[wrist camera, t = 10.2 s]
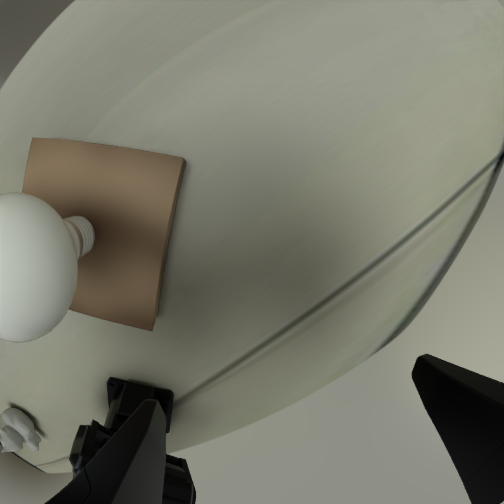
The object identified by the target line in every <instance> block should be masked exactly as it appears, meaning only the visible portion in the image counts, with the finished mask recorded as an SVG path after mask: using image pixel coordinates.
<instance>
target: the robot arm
mask: <svg viewBox="0 0 504 504" xmlns="http://www.w3.org/2000/svg"><path fill="white" fill-rule="evenodd" d="M412 379H413V382H414V384H415V386H416V388H417V391H418V393H419V395H420V398H421V400H422V402H423V405H424V407H425V409H426V410H427V413H428V415H429V417H430V418H431V420H432V422H433V424H434V426H435V427H436V429H437V431H438V433H439V435H440V437H441V439H442V441H443V443H444V445H445V447H446V449H447V451H448V453H449V455H450V457H451V459H452V461H453V463H454V465H455V467H456V469H457V471H458V473H459V476H460V478H461V480H462V482H463V483H464V484H463V485H464V487H465V489H466V491H467V494H468V496H469V499H470V501H471V503H472V504H500V503H502V502H503V501H504V383H502V382H499V381H497V380H494V379H491V378H489V377H486V376H483V375H480V374H478V373H475V372H473V371H470V370H468V369H465V368H462V367H460V366H457V365H454V364H452V363H449V362H447V361H444V360H442V359H439V358H437V357H434V356H432V355H429V354H424V355H421V356H419V357H418V358H417V360H416V362H415V365H414V368H413V371H412ZM111 382H112V383H113V384H112V383H111ZM107 392H108V403H109V411H108V414H107V418H106V421H105V424H104V426H102V425H100V424H99V422H97V421H95V420H92V422H91V424H90V425H80V426H79V429H78V431H77V434H76V437H75V439H74V442H73V446H72V449H71V453H70V457H69V460H70V462H71V464H72V466H73V470H72V471H73V480H72V481H71V482H70V483H69V484H68V485H67V486H65V487H64V488H63V489H62V490H61V491H60V492H59V493H57V494H56V495H55V496H54V497H53V498H51V499H50V500H49V501H47V502H46V503H45V504H195V501H196V491H195V487H194V484H193V481H192V478H191V475H190V472H189V468H188V465H187V462H186V460H185V459H182V458H177V457H174V456H171V455H168V454H166V433H169V431H170V422H171V413H172V404H173V393H172V392H171V391H168V390H163V389H157V388H152V387H148V386H143V385H138V384H134V383H130V382H126V381H122V380H118V379H114V378H109V379H108V381H107ZM167 395H169V396H167Z"/></svg>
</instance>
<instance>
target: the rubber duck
mask: <svg viewBox="0 0 504 504" xmlns="http://www.w3.org/2000/svg"><path fill="white" fill-rule="evenodd" d="M2 419H3V423H4V426H5V427H3V428H2V429H0V434H1V443H2V445H3V447H4V448H3V450H2V452H5V451H6V452H8V451H12V452H16V451H20V450H21V449H22V448H23V442H25V443H26V445H27V446H28V447H29V448H30V449H32V450H34V451H38V450H39V443H40V441H41V438H40V436H39V435H38V434H36V433H35V429H34V425H33V422H32V421H31V419H30V418H29V417H28V416H27V415H26V414H25V413H23V412H22V411H21V410H19V409H15V408H8V409H6V410H4V411H3V413H2Z"/></svg>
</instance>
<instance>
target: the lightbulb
mask: <svg viewBox="0 0 504 504" xmlns="http://www.w3.org/2000/svg"><path fill="white" fill-rule="evenodd" d="M94 242H95V233H94V229H93V227H92V225H91V223H90V222H89V221H88V220H87V219H86V218H84V217H82V216H72V217H68V218H65V219H63V218H62V217H61V216H60V215H59V214H58V213H57V211H56V210H55V209H54V208H52V207H51V206H50V205H49V204H48V203H46V202H45V201H43V200H41V199H40V198H38V197H35V196H33V195H30V194H26V193H18V192H12V193H5V194H1V195H0V339H1V340H4V341H8V342H14V343H23V342H29V341H33V340H36V339H38V338H41V337H43V336H44V335H46V334H48V333H49V332H50V331H52V330H53V329H54V328H55V327H56V326H57V325H58V324H59V323H60V322H61V320H62V319H63V318H64V316H65V315H66V313H67V311H68V309H69V308H70V305H71V303H72V301H73V298H74V295H75V291H76V286H77V279H78V259H80V258H81V257H83V256H84V255H86V254H88V253H89V252H90V251H91V249H92V248H93V245H94Z"/></svg>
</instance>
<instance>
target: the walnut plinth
mask: <svg viewBox="0 0 504 504" xmlns="http://www.w3.org/2000/svg"><path fill="white" fill-rule="evenodd" d="M185 164H186V160H185V159H184V158H181V157H176V156H171V155H166V154H160V153H155V152H149V151H143V150H137V149H131V148H125V147H118V146H111V145H104V144H96V143H88V142H79V141H70V140H59V139H47V138H33V137H32V141H31V146H30V150H29V155H28V160H27V165H26V170H25V176H24V183H23V190H22V193H26V194H30V195H33V196H35V197H38V198H40V199H41V200H43V201H45V202H46V203H48V204H49V205H50V206H51V207H52V208H54V209H55V210H56V211H57V213H58V214H59V215H60V216H61V217H62V218H63V219H65V218H68V217H72V216H82V217H84V218H86V219H87V220H88V221H89V222H90V223H91V225H92V227H93V229H94V233H95V242H94V245H93V248H92V249H91V251H90V252H89V253H88V254H86V255H84V256H83V257H81V258H80V259H78V279H77V286H76V291H75V295H74V298H73V301H72V303H71V305H70V308H69V310H72V311H76V312H79V313H82V314H86V315H89V316H93V317H96V318H100V319H104V320H108V321H111V322H115V323H119V324H123V325H127V326H132V327H136V328H140V329H145V330H149V331H152V330H153V327H154V324H155V321H156V318H157V313H158V305H159V298H160V291H161V284H162V277H163V271H164V265H165V259H166V253H167V248H168V242H169V237H170V232H171V226H172V221H173V217H174V212H175V207H176V203H177V198H178V194H179V189H180V185H181V181H182V177H183V172H184V168H185Z"/></svg>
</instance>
